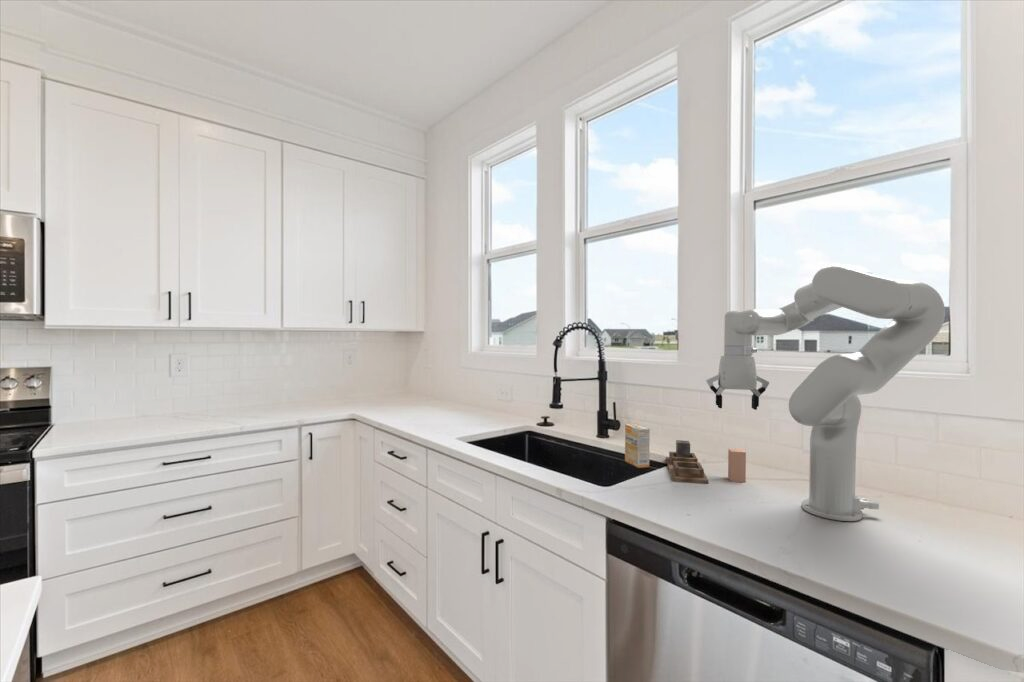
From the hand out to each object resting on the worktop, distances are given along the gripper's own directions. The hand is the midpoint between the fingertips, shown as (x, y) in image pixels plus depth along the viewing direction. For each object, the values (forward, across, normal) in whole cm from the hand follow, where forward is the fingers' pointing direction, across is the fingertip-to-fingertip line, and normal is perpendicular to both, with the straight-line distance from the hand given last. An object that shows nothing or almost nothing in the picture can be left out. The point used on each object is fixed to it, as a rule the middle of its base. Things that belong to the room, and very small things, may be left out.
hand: (736, 408), depth 142 cm
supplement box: (+22, +29, -10) cm, 38 cm away
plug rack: (+22, +14, -6) cm, 26 cm away
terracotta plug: (+22, 0, 0) cm, 22 cm away
